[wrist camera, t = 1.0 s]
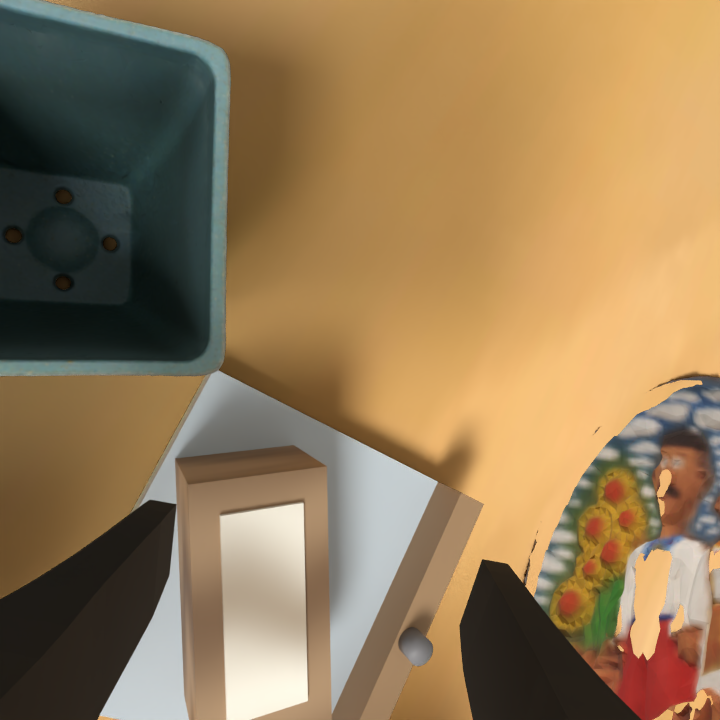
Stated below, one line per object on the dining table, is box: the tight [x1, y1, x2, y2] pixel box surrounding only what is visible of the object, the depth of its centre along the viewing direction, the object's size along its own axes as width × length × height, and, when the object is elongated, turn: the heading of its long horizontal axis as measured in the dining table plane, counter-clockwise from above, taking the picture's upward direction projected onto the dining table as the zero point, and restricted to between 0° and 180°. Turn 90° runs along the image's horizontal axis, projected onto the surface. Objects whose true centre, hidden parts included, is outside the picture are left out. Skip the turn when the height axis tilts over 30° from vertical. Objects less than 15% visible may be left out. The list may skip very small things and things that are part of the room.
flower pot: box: [0, 0, 231, 376], centre depth 17 cm, size 9×9×9 cm
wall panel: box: [100, 371, 484, 720], centre depth 23 cm, size 14×14×4 cm
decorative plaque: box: [524, 376, 720, 720], centre depth 37 cm, size 30×3×30 cm
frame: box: [175, 445, 332, 720], centre depth 21 cm, size 10×5×4 cm, turn 1°
